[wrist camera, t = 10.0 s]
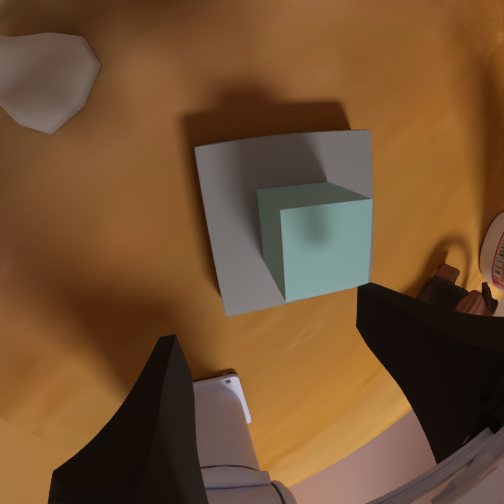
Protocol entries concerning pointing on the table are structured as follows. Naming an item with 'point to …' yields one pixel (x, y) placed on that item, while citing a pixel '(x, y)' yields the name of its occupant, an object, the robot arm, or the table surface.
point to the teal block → (315, 238)
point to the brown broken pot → (457, 294)
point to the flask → (45, 78)
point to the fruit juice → (494, 254)
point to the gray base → (246, 201)
